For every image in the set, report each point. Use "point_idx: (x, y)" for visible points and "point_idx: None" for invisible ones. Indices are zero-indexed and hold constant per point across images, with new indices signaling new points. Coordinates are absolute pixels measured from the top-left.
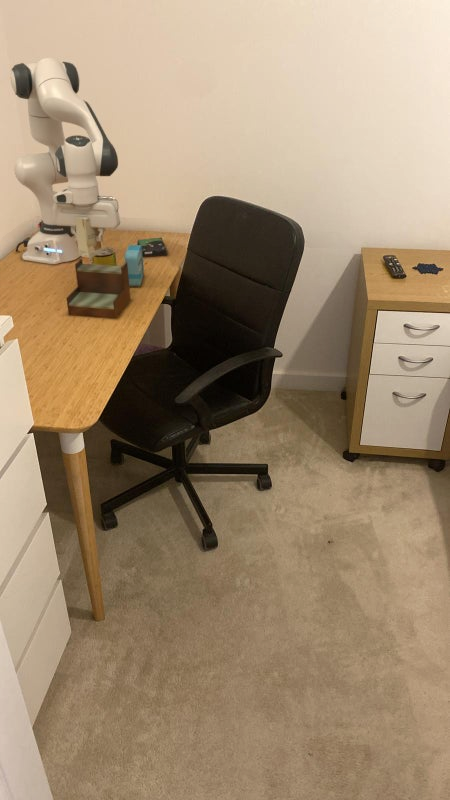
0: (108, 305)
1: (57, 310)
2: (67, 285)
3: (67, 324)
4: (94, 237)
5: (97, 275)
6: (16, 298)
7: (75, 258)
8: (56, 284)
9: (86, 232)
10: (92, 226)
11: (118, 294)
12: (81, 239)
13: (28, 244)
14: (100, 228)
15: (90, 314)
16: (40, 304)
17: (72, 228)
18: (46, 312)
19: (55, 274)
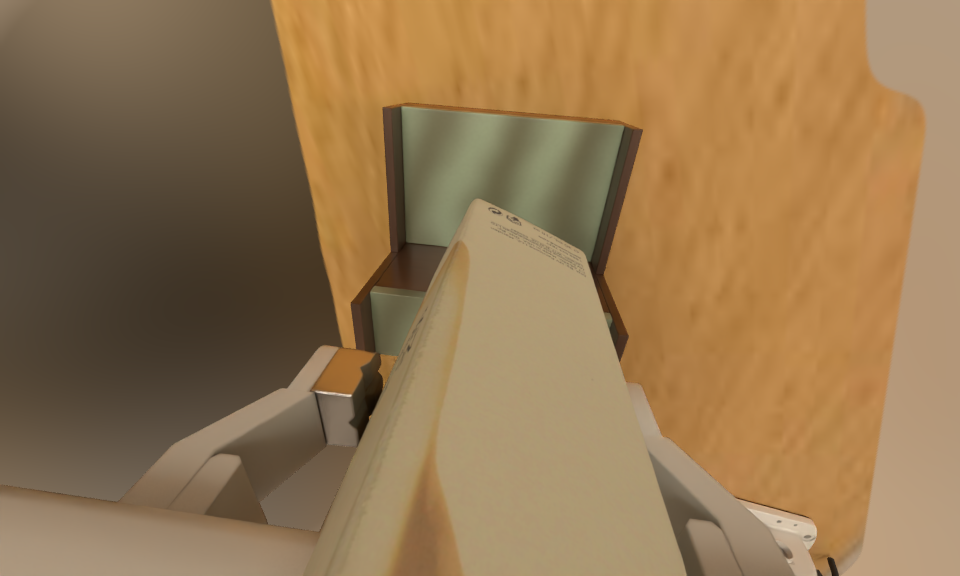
0: (430, 124)
1: (674, 165)
2: (654, 372)
3: (612, 8)
4: (383, 389)
5: None
6: (859, 267)
7: None
8: (694, 378)
9: (403, 380)
10: (265, 546)
11: (425, 244)
12: (546, 328)
13: (815, 573)
14: (170, 498)
15: (519, 112)
16: (753, 218)
17: (748, 547)
18: (724, 139)
19: (702, 439)
